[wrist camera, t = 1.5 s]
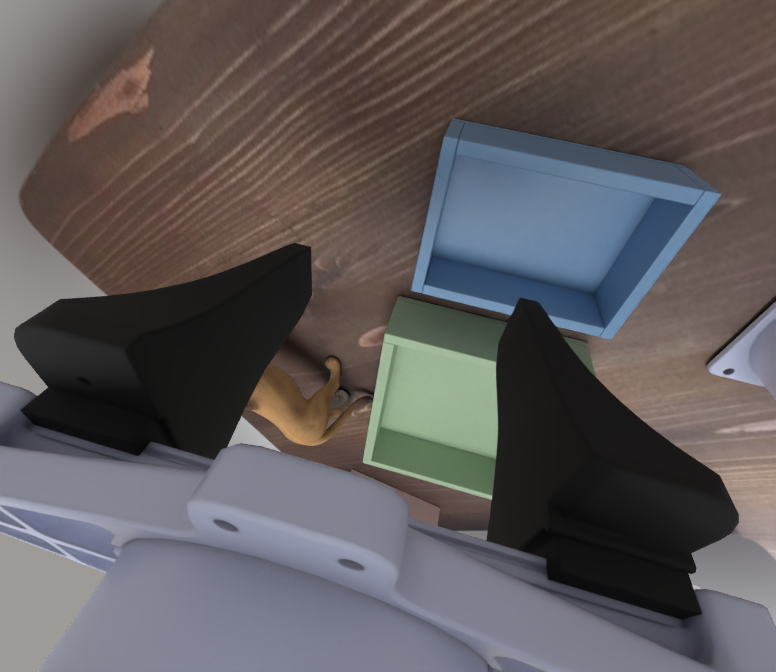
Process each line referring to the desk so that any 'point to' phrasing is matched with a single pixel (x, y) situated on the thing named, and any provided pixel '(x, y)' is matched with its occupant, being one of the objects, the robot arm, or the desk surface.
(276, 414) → the lion figurine
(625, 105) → the desk surface
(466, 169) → the blue bin
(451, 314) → the big bin
